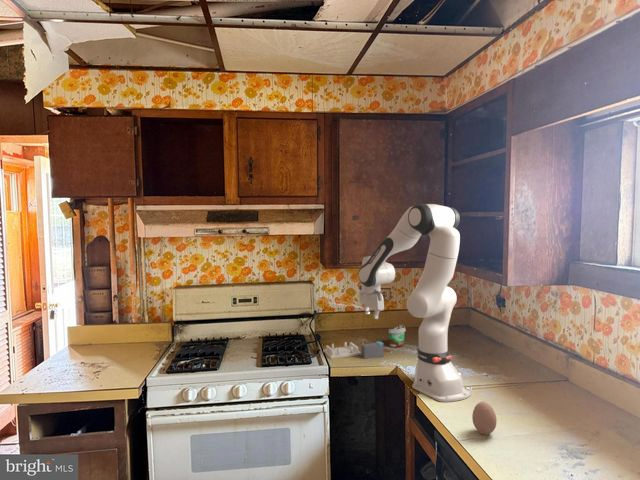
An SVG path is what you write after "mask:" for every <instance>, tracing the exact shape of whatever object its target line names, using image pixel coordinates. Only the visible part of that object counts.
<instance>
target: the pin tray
mask: <svg viewBox="0 0 640 480" xmlns="http://www.w3.org/2000/svg"><path fill="white" fill-rule="evenodd" d="M343 343H344V344H343V345H344V346H340V347H335V343H331V346H329V345H328V344H327V345H325V349H322V351H323V353H325V355H326V356H327V357H328V358H330V360H333V359H342V358H349V357H355V356H356V357H357V356H361V350H359V346H357V345H356V344H354V343H353V342H352V341H351V342H349V345H348V344H347V341H344V342H343Z"/></svg>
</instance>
